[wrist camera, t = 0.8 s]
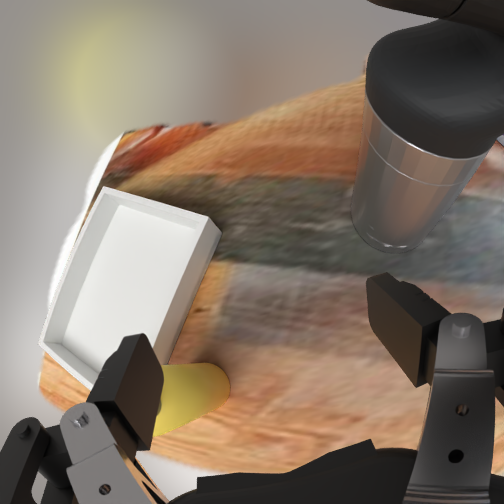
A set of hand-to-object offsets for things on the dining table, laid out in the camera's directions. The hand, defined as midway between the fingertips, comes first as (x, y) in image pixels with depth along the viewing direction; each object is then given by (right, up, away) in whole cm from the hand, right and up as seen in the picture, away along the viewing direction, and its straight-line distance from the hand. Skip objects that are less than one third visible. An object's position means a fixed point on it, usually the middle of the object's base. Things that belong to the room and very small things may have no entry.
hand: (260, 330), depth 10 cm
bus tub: (-15, -3, +24) cm, 29 cm away
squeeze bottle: (-5, -11, +19) cm, 23 cm away
